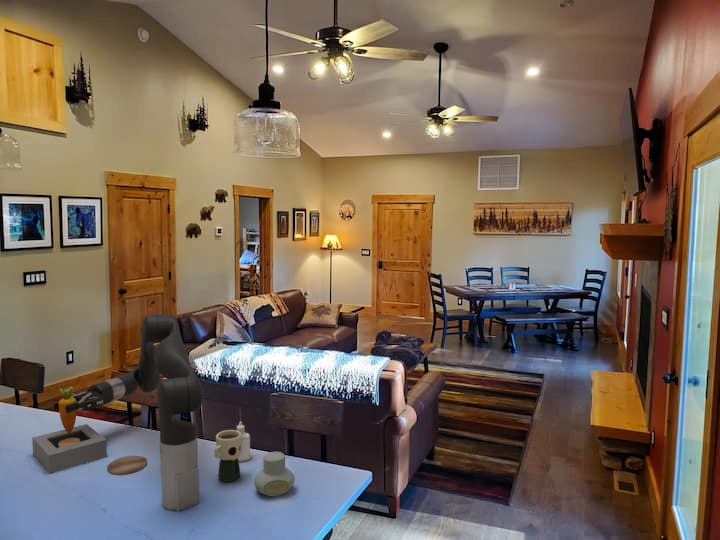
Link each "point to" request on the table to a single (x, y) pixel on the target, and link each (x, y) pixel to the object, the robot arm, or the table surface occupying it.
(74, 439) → the button
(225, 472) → the character mug
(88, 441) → the box
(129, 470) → the walnut pad
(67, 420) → the carrot
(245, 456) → the eye dropper bottle
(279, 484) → the air freshener
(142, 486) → the table surface
